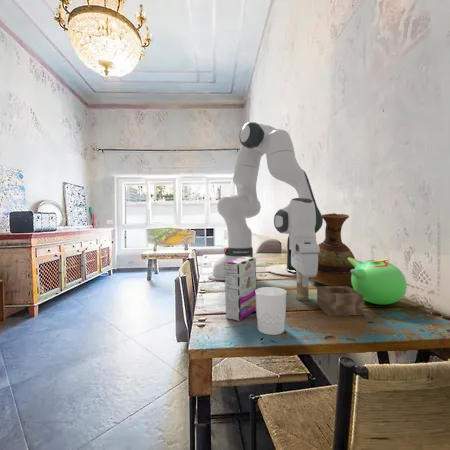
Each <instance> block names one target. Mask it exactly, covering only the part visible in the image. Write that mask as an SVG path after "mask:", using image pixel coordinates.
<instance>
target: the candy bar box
mask: <svg viewBox="0 0 450 450" xmlns="http://www.w3.org/2000/svg"><path fill="white" fill-rule="evenodd" d="M256 259H257V258H256V257H254V256H253V257H241V258H237V259H234V260H231V261H228V262H225V280H224V287H225V288H224V291H225V293H224V294H225V319H227V320H230V321H231V320H232V321H236V322H241V321H243V320H244V319H246V318H248V316H250V315H251V314H253V313H254V312H255V311H256V296H255V290H256V289H257V267H256V266H257V264H256V263H257V261H256Z"/></svg>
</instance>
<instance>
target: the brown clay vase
mask: <svg viewBox="0 0 450 450" xmlns="http://www.w3.org/2000/svg"><path fill="white" fill-rule="evenodd" d="M321 215H322V218H323V220H324V222H325V224H326V225H325V233H324V234H325V237H324V240H323V241H322V242H320V243H318V245H319V247H320V252H319V253H317V254H318V271H317V275H316V277H309V280H312V281H314V282H315V283H316V282H317V283H319V284H322V285H324V286H350V285H351V286H352V282H351V276H352V273H351V270H352V269H355V267H354V266H353V265H352V264H351V263H350V262H349V261H348V259H347V258H353V259H356V258H355V256H354V253H353V251H351V249H350V247H348V246H347V245H346V244H345V243H344V242H343V241H342V228H343V225H344V223H345V222H346V220H347V219H349V218H350V215H349V214H343V213H338V214H337V213H327V214H321Z"/></svg>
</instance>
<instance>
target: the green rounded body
mask: <svg viewBox="0 0 450 450" xmlns="http://www.w3.org/2000/svg"><path fill="white" fill-rule="evenodd" d="M347 259H348V261H349V262H350V263H351V264H352V265H353V266H354V267H355V269H352V270H351V273H352V276H351V282H352V284H351V286H352V289H354V290H355V291H357V292H359V293H360V294H362V295H363V301H366V302H368V303H370V304H375V305H382V306H383V305H391V304H394V303H396V302H399V301H400V300H401V299H403V297H404V296H405V294H406V292H407V288H408V287H407V280H406V277H405V275H404V274H403V272H402V271H401V270H400V269H399V268H398V267H397V266H396V265H394V264H392V263H390V262H388V261H390V259H388V258H386V259H376V260H374V259H371V260H367V261H365V262H364V261H360V260H358V259H356V258H355V259H353V258H347Z"/></svg>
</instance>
